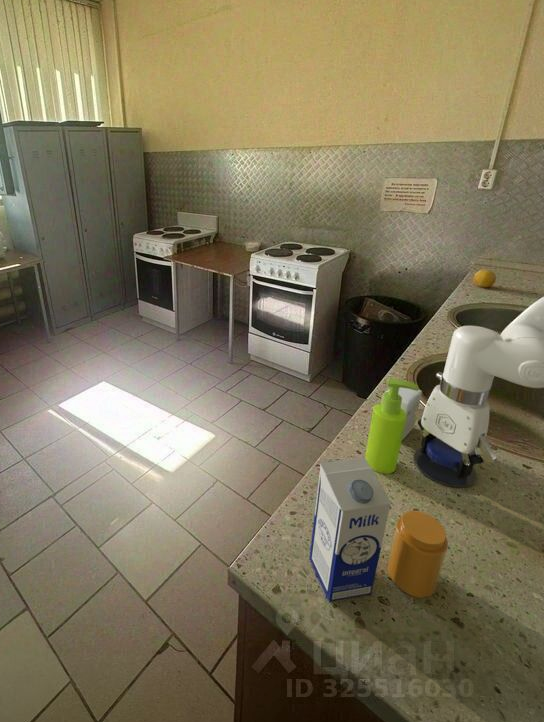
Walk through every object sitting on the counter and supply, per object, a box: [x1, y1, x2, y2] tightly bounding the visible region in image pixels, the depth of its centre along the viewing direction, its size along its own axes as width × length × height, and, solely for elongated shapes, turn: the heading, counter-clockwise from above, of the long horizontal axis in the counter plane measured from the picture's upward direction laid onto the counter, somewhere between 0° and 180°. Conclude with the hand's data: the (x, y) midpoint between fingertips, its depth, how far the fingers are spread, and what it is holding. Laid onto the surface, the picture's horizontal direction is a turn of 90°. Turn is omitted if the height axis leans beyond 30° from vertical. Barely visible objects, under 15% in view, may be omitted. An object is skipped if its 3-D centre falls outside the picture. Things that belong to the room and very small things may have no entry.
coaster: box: [412, 447, 477, 489], centre depth 81 cm, size 11×11×1 cm
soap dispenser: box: [364, 378, 420, 475], centre depth 79 cm, size 6×7×20 cm
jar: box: [386, 510, 449, 599], centre depth 59 cm, size 7×7×10 cm
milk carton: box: [309, 456, 392, 602], centre depth 58 cm, size 7×7×20 cm
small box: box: [380, 388, 423, 442], centre depth 91 cm, size 8×6×10 cm
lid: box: [426, 438, 463, 469], centre depth 80 cm, size 7×7×2 cm
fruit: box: [472, 269, 497, 288], centre depth 183 cm, size 9×8×8 cm
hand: (443, 462), depth 81 cm, fingers closed on lid, 6 cm apart
